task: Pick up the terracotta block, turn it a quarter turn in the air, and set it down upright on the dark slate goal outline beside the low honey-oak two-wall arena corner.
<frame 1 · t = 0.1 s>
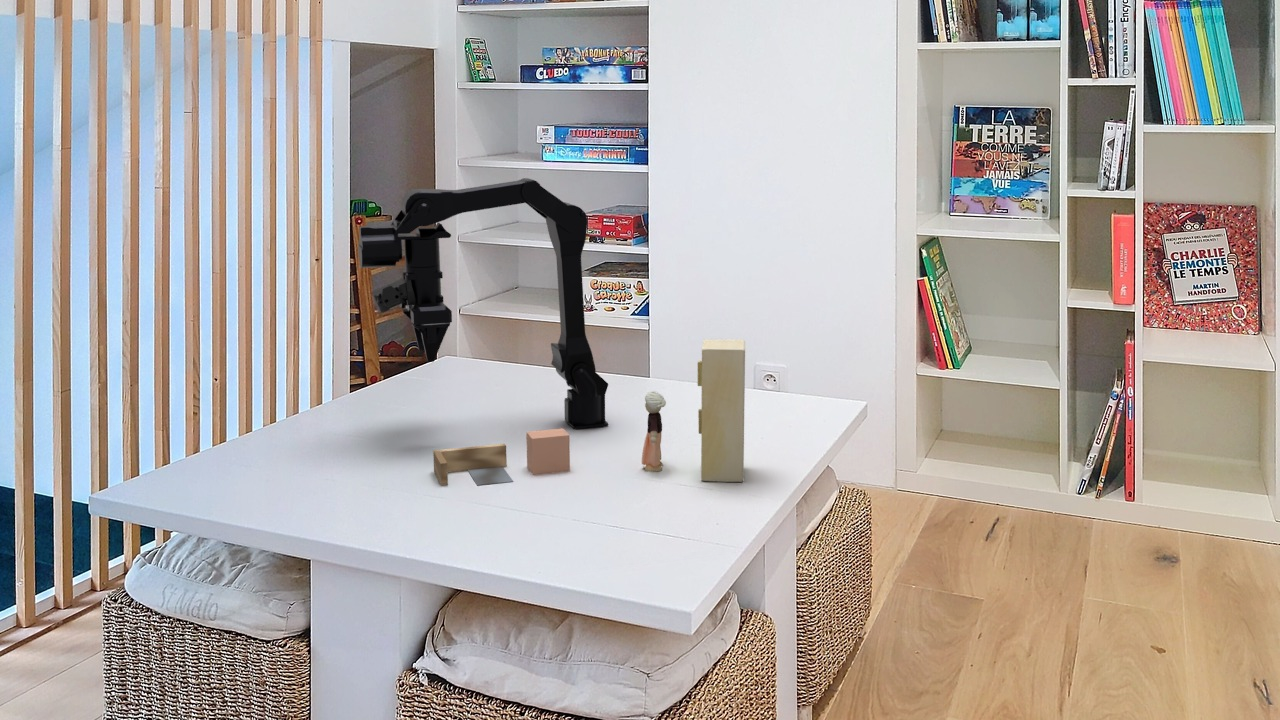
hand: (426, 355, 201), 15 cm above the table, fingers open, 9 cm apart
toy refrigerator: (720, 475, 185), on the table
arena: (478, 474, 185), on the table
terracotta block: (548, 469, 188), on the table
grandmother figurine: (653, 469, 188), on the table
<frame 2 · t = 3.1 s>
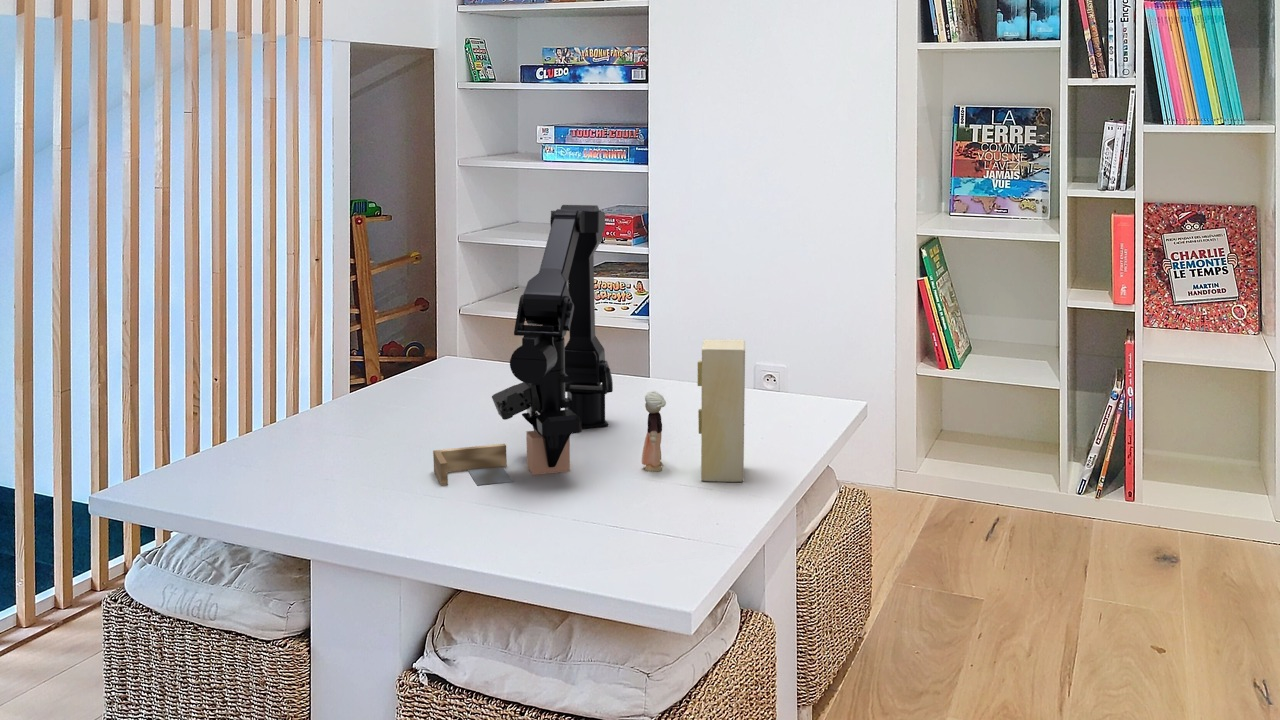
hand: (548, 462, 187), 1 cm above the table, fingers closed on terracotta block, 4 cm apart
terracotta block: (548, 469, 188), on the table, touching gripper
everything else where it was.
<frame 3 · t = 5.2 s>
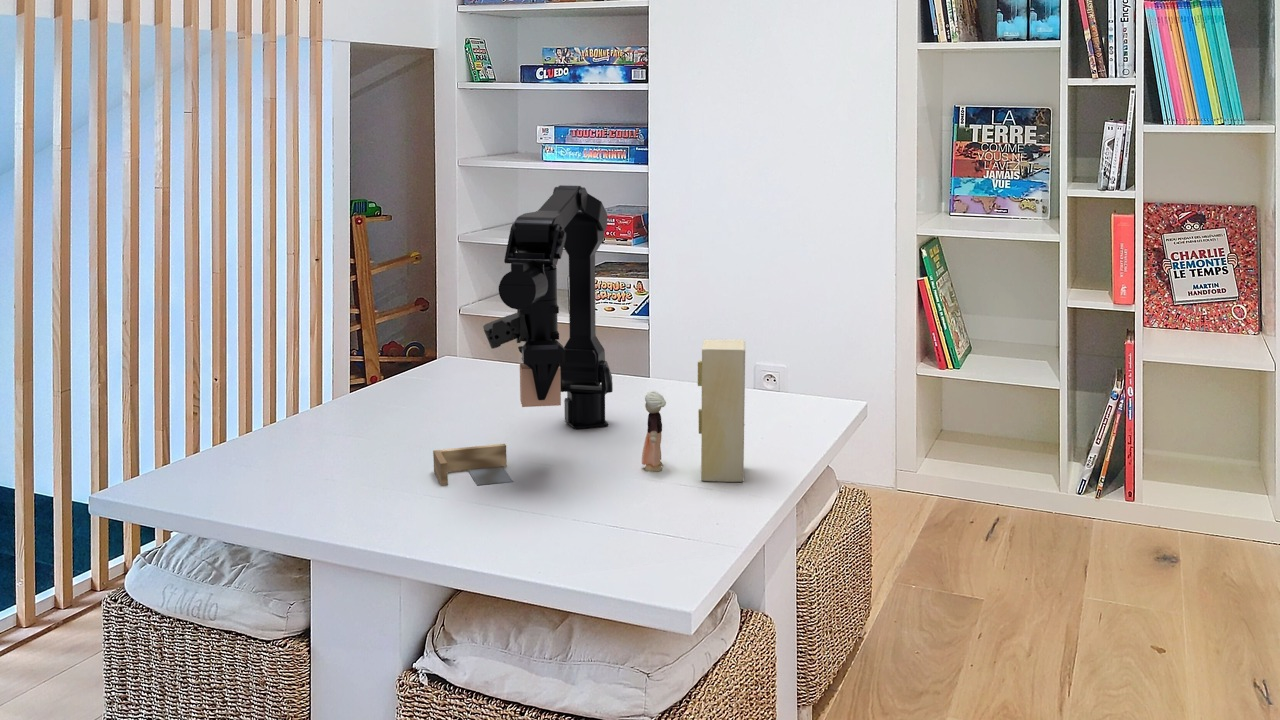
hand: (540, 396, 184), 12 cm above the table, fingers closed on terracotta block, 4 cm apart
terracotta block: (540, 402, 184), point 11 cm above the table, touching gripper
everything else where it was.
when the fingers open (2 cm above the table, at t = 7.5 s): terracotta block stays where it is, resting on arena.
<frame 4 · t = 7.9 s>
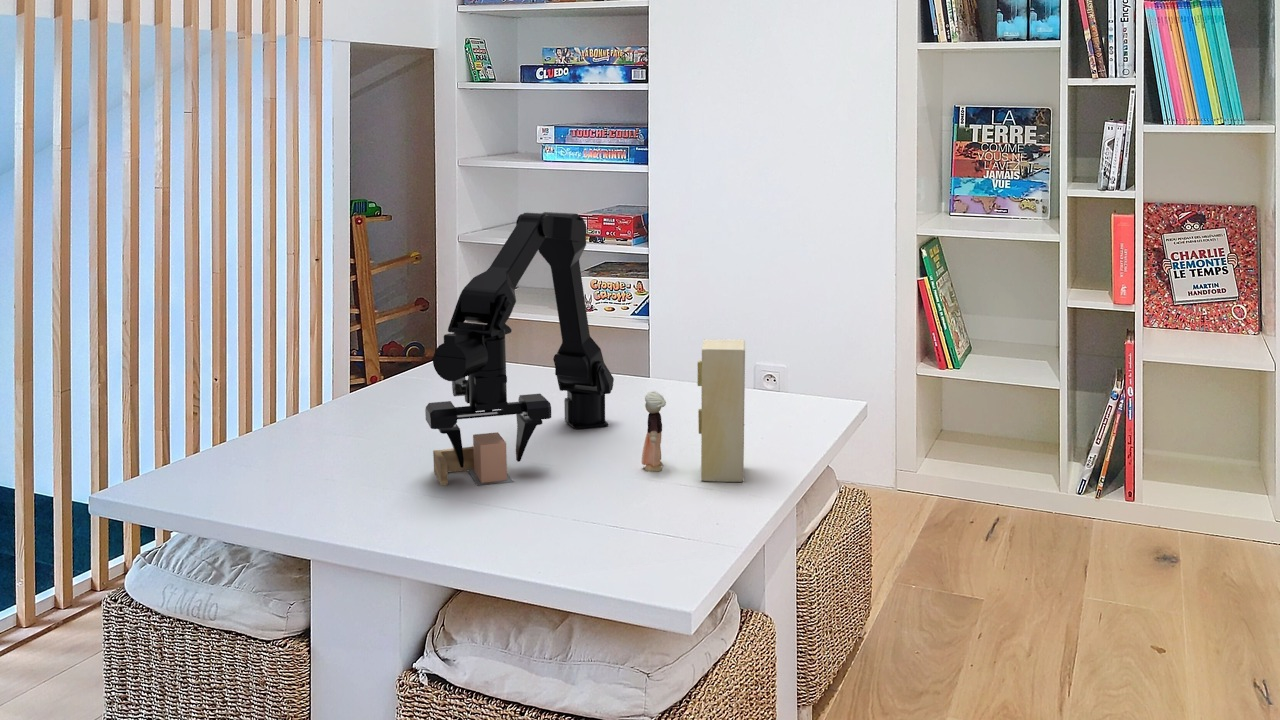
hand: (490, 463, 184), 2 cm above the table, fingers open, 9 cm apart
terracotta block: (490, 475, 184), resting on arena
everything else where it was.
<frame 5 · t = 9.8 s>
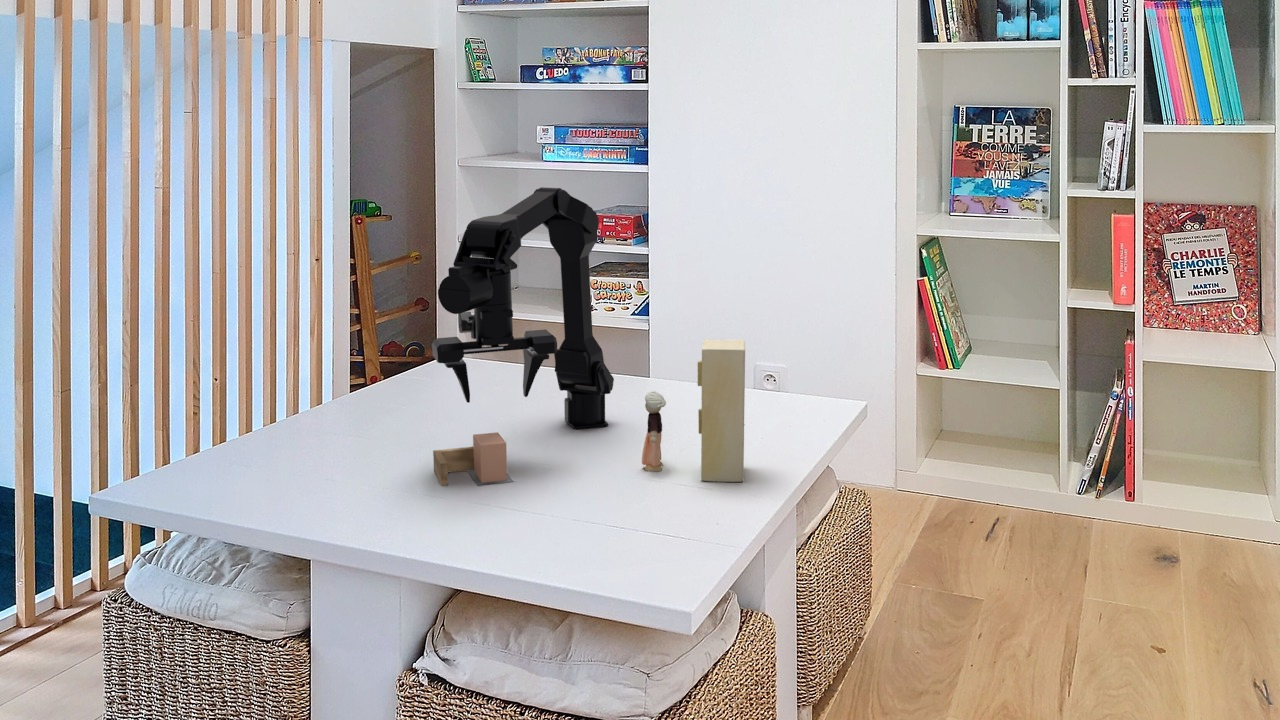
hand: (496, 399, 185), 11 cm above the table, fingers open, 9 cm apart
nothing on the table moved.
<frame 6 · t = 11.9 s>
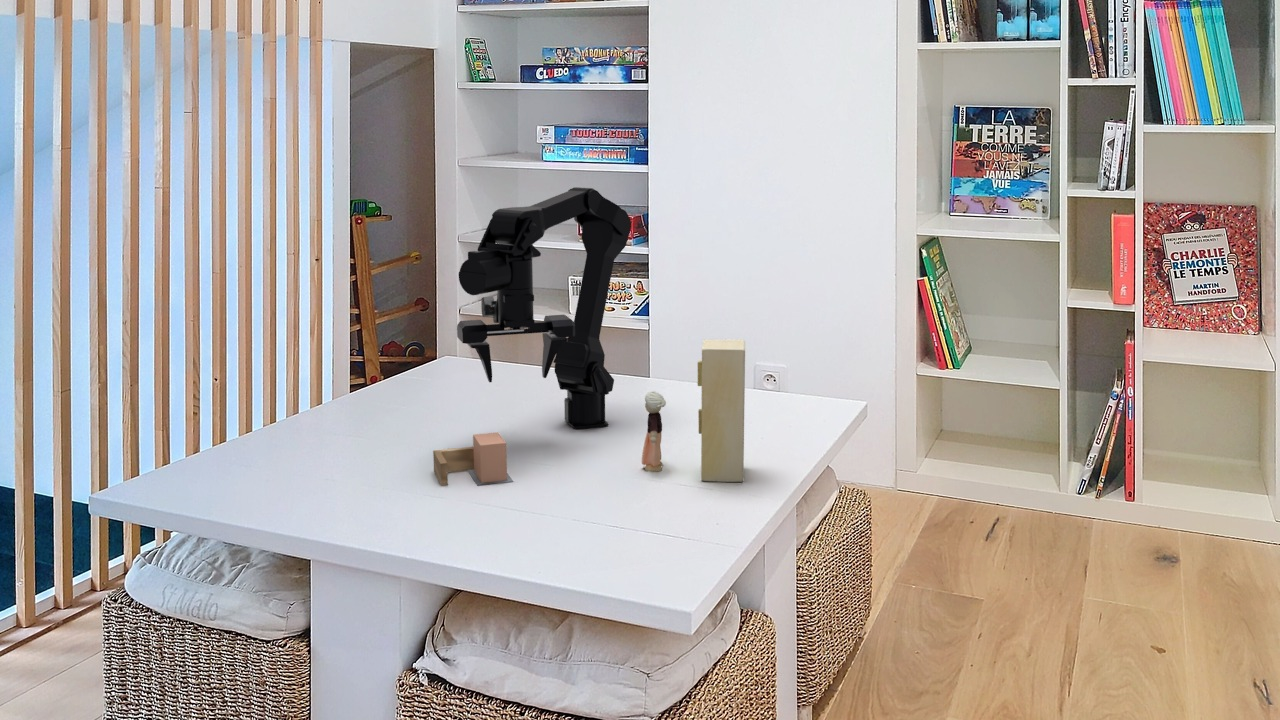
hand: (517, 379, 195), 12 cm above the table, fingers open, 9 cm apart
nothing on the table moved.
at the end: terracotta block 0.0 cm from the target spot on the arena, point 0.1 cm above the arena's base; terracotta block tilted 0°; the gripper is holding nothing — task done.
